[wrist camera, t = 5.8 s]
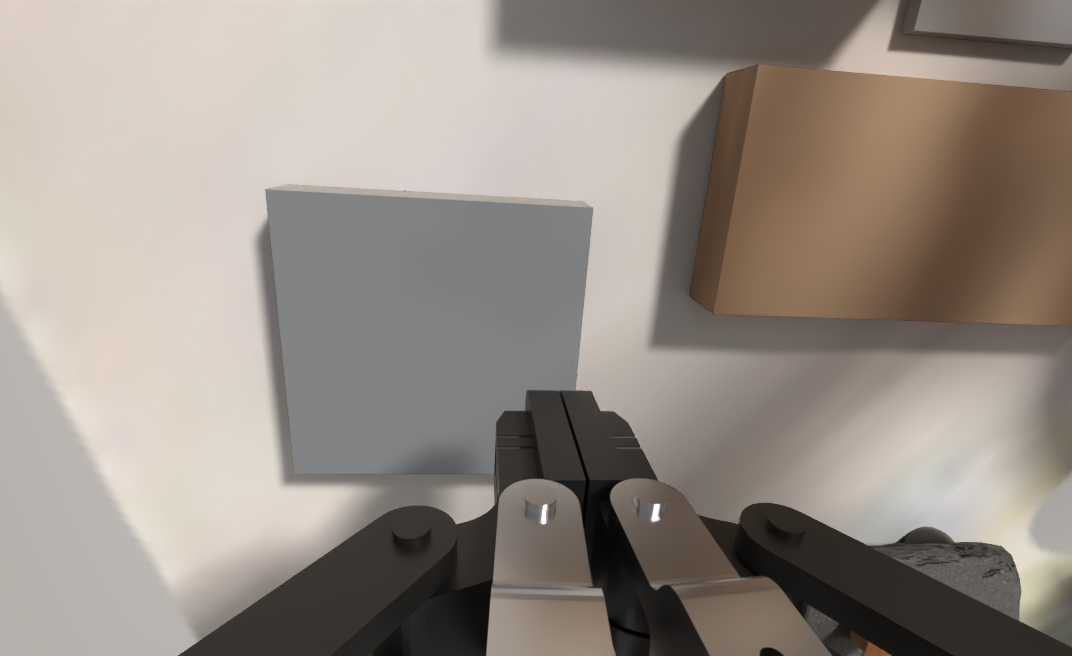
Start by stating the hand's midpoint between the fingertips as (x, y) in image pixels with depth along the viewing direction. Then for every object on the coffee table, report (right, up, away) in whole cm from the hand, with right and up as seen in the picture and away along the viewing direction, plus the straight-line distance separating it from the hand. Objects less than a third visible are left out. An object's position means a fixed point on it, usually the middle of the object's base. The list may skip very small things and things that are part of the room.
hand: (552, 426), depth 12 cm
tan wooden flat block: (+13, +7, +6) cm, 16 cm away
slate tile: (+1, +2, +5) cm, 6 cm away
